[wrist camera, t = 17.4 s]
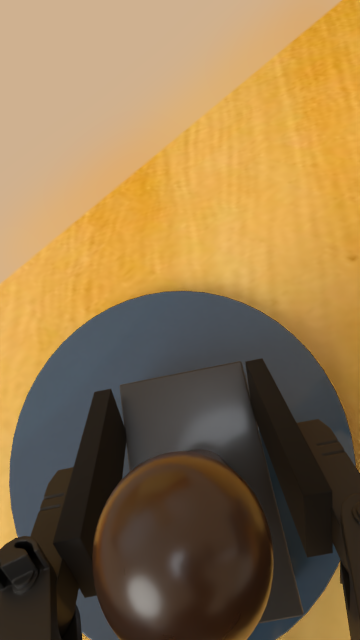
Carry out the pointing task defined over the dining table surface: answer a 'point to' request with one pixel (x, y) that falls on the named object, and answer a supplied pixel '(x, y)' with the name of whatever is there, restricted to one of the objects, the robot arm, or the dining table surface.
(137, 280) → the dining table surface
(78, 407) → the plate
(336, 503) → the robot arm
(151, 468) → the stamp
